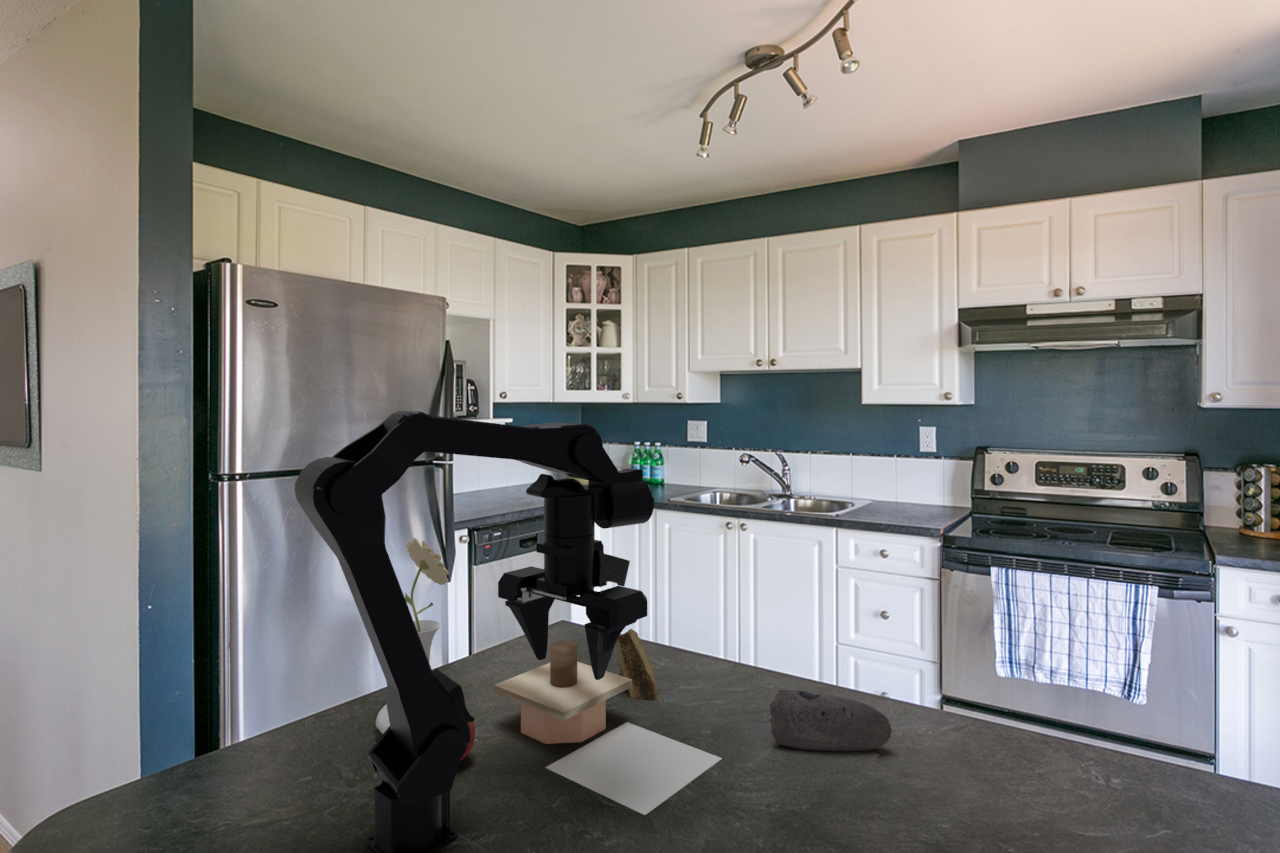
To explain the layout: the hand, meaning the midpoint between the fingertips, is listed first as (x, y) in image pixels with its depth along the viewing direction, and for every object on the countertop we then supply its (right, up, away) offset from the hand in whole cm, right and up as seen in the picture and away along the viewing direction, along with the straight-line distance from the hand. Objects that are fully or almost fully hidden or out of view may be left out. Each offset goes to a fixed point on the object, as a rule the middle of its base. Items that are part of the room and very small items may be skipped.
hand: (569, 668), depth 81 cm
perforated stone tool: (+32, -13, +8) cm, 35 cm away
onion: (-15, -13, +3) cm, 20 cm away
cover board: (-2, -7, +14) cm, 16 cm away
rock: (+8, -12, +26) cm, 30 cm away
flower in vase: (-21, -13, +14) cm, 28 cm away
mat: (+8, -13, +3) cm, 15 cm away
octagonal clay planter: (-2, -12, +14) cm, 19 cm away
